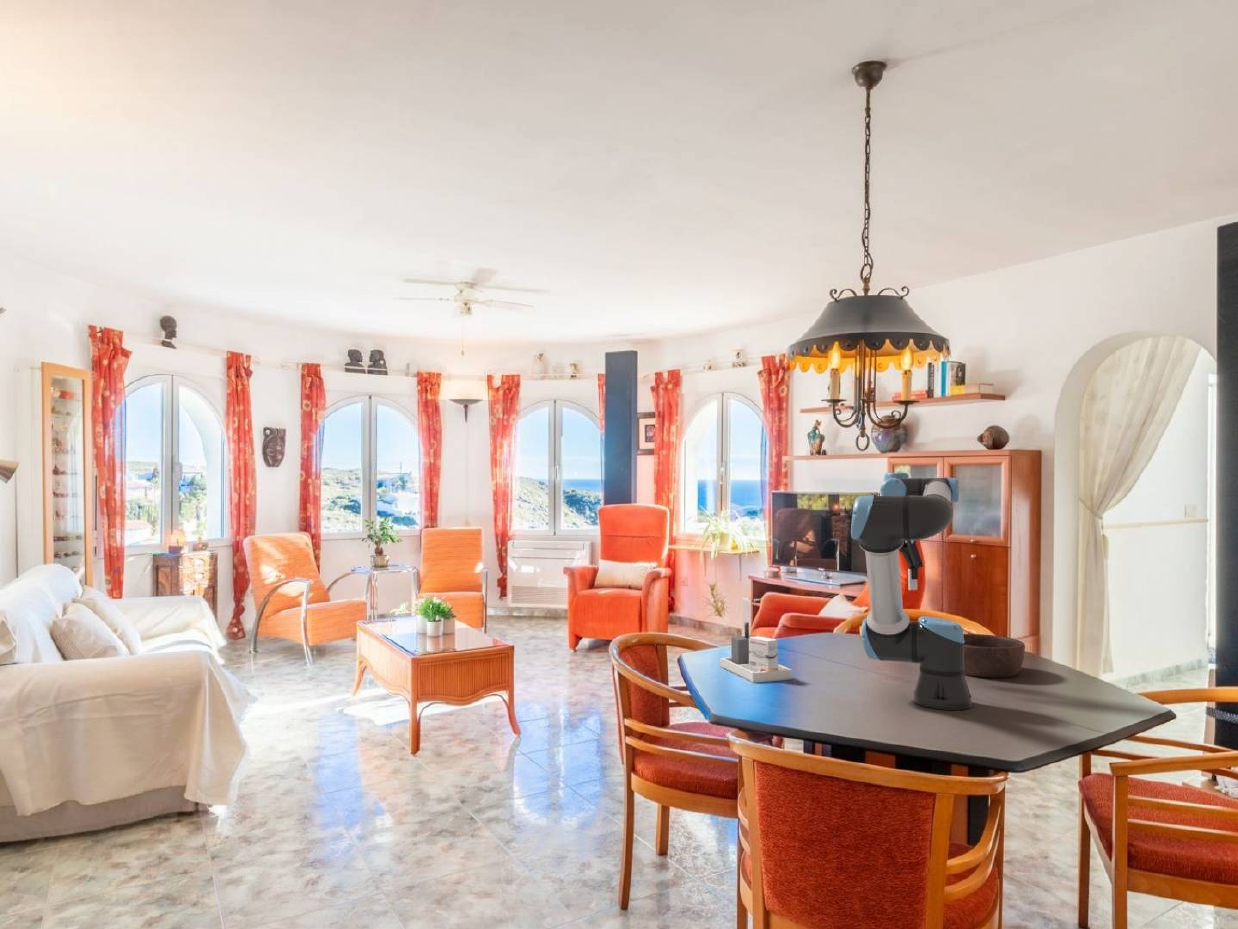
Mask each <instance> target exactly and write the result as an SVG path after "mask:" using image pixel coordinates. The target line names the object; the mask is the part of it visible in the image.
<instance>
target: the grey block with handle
mask: <svg viewBox="0 0 1238 929" xmlns="http://www.w3.org/2000/svg"><path fill="white" fill-rule="evenodd" d="M749 623H750V622H747V621H746V622H744V635H743V636H732V637H731V636H730V638H731V640H730V641H731V644H730V645H731V646H730V647H731V648H730V649H731V657H732V662H733V663H735V664H737V665H741V664H749V638H750V637H757V636H758V635H750V629H749V628H750V624H749Z"/></svg>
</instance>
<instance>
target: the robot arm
mask: <svg viewBox="0 0 1238 929" xmlns="http://www.w3.org/2000/svg"><path fill="white" fill-rule="evenodd" d="M879 491H880V495H874V494H871V495H862V496H858V497H856V498H855V500H854V503H853V508H852V509H853V510H852V515H851V516H852V517H851V524H850V525H851V526H850V537H851V539H852V540H855V541H857V543H858V546H859V547H860V549H861V550H863V551H864V554H865V563H866V565H865V566H866V573H867V575H866V576H867V583H868V592H869V593H868V595H869V604H870V612H869V613H868V614H867V615H866V618H864V619H863V620H862V622H861V636H862V638H861V639H862V640H861V641H862V645H863V650H864V652H865V654H866V656H867V657H868V658H869V659H870V660H871V659H872V660H875V661H881V662H894V663H895V662H898V663H907V664H908V663H910V664H918V665H919V675H918V677H917V678H918V679H917V681H916V686H915V689H914V690H913V702H914V703H915V704H918V705H919V706H923V707H926V708H931V709H938V710H947V711H962V710H968V709H970V708H972V706H973V697H972V695H971V693H970V688H969V685H968V683H967V679H966V675H965V673H964V643H965V641H964V635H963V634H964V628H963V627H962V625H961V624H960V623H958V622H955V621H953V620H950V619H945V618H942V617H935V616H926V615H925V616H920V617H919V618H918V620H917V621H912V620H910V617H909V615H908V613H906V612H905V611H904V606H903V591H902V590H903V589H902V578H901V566H900V554H899V552H901V554H902V555H903V557H904V560H905V561H906V562H907V565H908V566H909V567H908V568H907V575H908V578H907V582H908V586H907V587H908V588H907V589H908V591H918V579H919V575H918V574H919V572H918V571H919V569H920V568H923V567H924V564H923V560H922V558H921V556H920V552H919V549H918V547H917V543H916V541H921V540H927V539H929V538H932V537H934V536H937V535H938V534H940V533H943V531H944V530H946V529H947V528H948V527H949V526H950V524H951V523H952V522H953V517H954V507H953V505H952V503H958V502H959V498H960V497H959V492H960V491H959V480H958V479H957V478H956V477H955V478H954V477H947V476H946V477H925V478H923V477H922V478H921V477H918V478H917V477H915V478H914V477H911V478H910V476H909V474H908V473H907V472H887V473H885V474H884V479H883V482H882V484H881V486H880V490H879Z"/></svg>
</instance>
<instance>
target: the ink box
mask: <svg viewBox="0 0 1238 929" xmlns="http://www.w3.org/2000/svg"><path fill="white" fill-rule="evenodd" d="M756 636H757V637H750V638H749V670H750V671H753V672H762V671H765V670H774V669H777V670H778V664H779V659H778V658H779V657H778V656H779V655H778V654H779V653H778V649H779V648H778V639H774V638H770V637H763V636H758V635H756Z"/></svg>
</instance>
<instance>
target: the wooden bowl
mask: <svg viewBox="0 0 1238 929" xmlns="http://www.w3.org/2000/svg"><path fill="white" fill-rule="evenodd" d="M963 635H964V641H965V643H964V673H965V676H970V677H975V678H976V677H979V678H989V679H1002V678H1003V679H1004V678H1005V679H1006V678H1012V677H1015V676H1016V675H1017V674H1019V672H1020V670H1021V668H1022V665H1023V663H1024V657H1025V651H1026V645H1025V643H1024V642H1022V641H1021V640H1019V639H1015V638H1012V637H1007V636H1000V635H993V634H985V633H984V634H982V633H980V634H979V633H963Z"/></svg>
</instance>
